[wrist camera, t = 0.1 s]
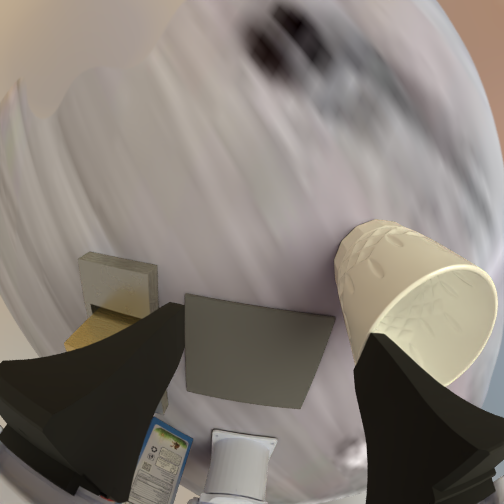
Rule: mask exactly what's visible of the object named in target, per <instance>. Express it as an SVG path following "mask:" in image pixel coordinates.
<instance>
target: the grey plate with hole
mask: <svg viewBox="0 0 504 504" xmlns="http://www.w3.org/2000/svg"><path fill="white" fill-rule="evenodd" d="M78 264H79V271H80V278H81V284H82V290H83V296H84V301H85V307H86V311H87V316H88V318H89V317H90V316H91V315H92V314H93V313H94V312H95V311H96V310H98V309H99V308H100V307H103V308H106V309H109V310H113V311H116V312H120V313H123V314H127V315H130V316H134V317H137V318H141V319H143V318H144V317H146V316H148V315H149V314H151V313H153V312H154V311H156V310H157V309H159V302H158V271H157V265H153V264H148V263H143V262H138V261H133V260H128V259H123V258H118V257H113V256H108V255H103V254H99V253H94V252H88V253H87V254H85V255H83V256H82V257H80V258H79V259H78ZM167 406H168V398H167V391H165V393H164V395H163V397H162V399H161V401H160V403H159V404H158V406H157V408H156V410H155V413H158V414H162V415H164V413H165V411H166V409H167Z"/></svg>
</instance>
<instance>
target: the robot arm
mask: <svg viewBox="0 0 504 504" xmlns="http://www.w3.org/2000/svg"><path fill="white" fill-rule="evenodd" d="M184 348H185V305H181V304H177V303H172V302H169V303H167V304H166V305H164V306H162V307H161V308H159V309H157V310H156V311H154V312H153V313H151V314H149V315H148V316H146V317H144V318H143V319H141V320H139V321H138V322H136V323H134V324H132V325H131V326H129V327H127V328H125V329H123V330H121V331H119V332H117V333H115V334H113V335H111V336H109V337H107V338H105V339H103V340H100V341H98V342H95V343H93V344H90V345H88V346H85V347H82V348H78V349H75V350H72V351H68V352H65V353H61V354H57V355H52V356H48V357H42V358H35V359H27V360H12V361H11V360H10V361H2V362H1V363H0V415H1V417H2V418H3V419H4V420H5V422H6V423H7V425H6V426H5V428H4V429H3V428H2V426H1V425H0V504H114V503H112V502H110V501H108V500H106V499H110V500H112V501H115V502H117V503H124V502H127V501H129V495H130V491H131V486H132V482H133V477H134V474H135V470H136V466H137V463H138V459H139V455H140V452H141V449H142V446H143V443H144V440H145V437H146V434H147V431H148V428H149V425H150V423H151V420H152V417H153V415H154V413H155V410H156V408H157V406H158V404H159V403H160V401H161V399H162V397H163V395H164V393H165V391H166V389H167V387H168V385H169V383H170V381H171V379H172V377H173V375H174V373H175V371H176V369H177V367H178V365H179V362H180V359H181V356H182V353H183V351H184ZM354 383H355V392H356V396H357V401H358V405H359V409H360V414H361V418H362V423H363V427H364V432H365V437H366V444H367V461H368V482H367V496H366V504H504V475H503V476H502V477H500V478H499V479H497V480H496V481H494V482H493V481H492V477H493V476H495V474H496V471H495V469H494V467H496V466H497V465H498V464H499V463H500V462H501V461H503V460H504V418H503V417H500V416H497V415H494V414H492V413H489V412H487V411H485V410H482V409H480V408H478V407H476V406H474V405H473V404H471V403H469V402H467V401H466V400H464V399H462V398H460V397H459V396H457V395H456V394H454V393H453V392H451V391H450V390H449V389H447V388H446V387H444V386H443V385H442V384H440V383H439V382H438V381H437V380H435V379H434V378H433V377H432V376H431V375H430V374H428V373H427V372H426V371H425V370H424V369H423V368H421V367H420V366H419V365H418V364H417V363H416V362H415V361H414V360H413V359H412V358H411V357H410V356H409V355H407V354H406V353H405V352H404V351H403V350H402V349H401V348H400V347H399V346H398V345H397V344H396V343H395V342H394V341H392V340H391V339H390V338H389V337H388V336H386V335H385V334H383V333H370V335H369V337H368V340H367V342H366V344H365V346H364V349H363V351H362V353H361V355H360V357H359V359H358V362H357V364H356V366H355V368H354ZM276 443H277V439H276V438H269V437H260V436H252V435H245V434H238V433H232V432H227V431H221V430H213V432H212V452H211V463H210V467H209V471H208V475H207V479H206V484H205V488H204V492H203V493H201V495H200V499H199V498H197V497H194V498H193V499H191V500H189V501H188V503H187V504H267V502H265V493H266V482H267V471H268V460H269V458H270V456H271V454H272V452H273V450H274V448H275V446H276ZM99 495H100V496H102V497H104V498H106V499H103V498H101V497H99Z"/></svg>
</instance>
